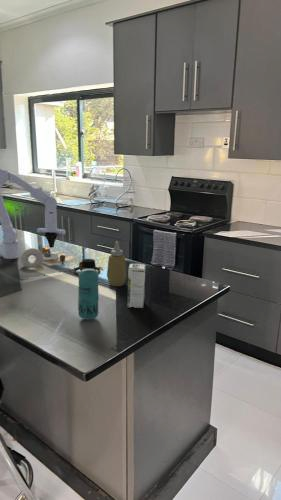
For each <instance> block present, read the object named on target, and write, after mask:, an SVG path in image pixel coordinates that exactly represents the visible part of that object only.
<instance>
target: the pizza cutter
mask: <svg viewBox="0 0 281 500" xmlns="http://www.w3.org/2000/svg"><path fill="white" fill-rule="evenodd" d="M44 248H45V252H44V254H42V255H43V261H52V260H56V259H58V255H57V254H51V253H52V252H51V248H50V247H49V245H48V246H44Z"/></svg>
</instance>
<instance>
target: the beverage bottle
mask: <svg viewBox="0 0 281 500" xmlns="http://www.w3.org/2000/svg"><path fill="white" fill-rule="evenodd" d="M81 262H82V267H83V268H94V267H96V259H92V258H84V259H82V261H81ZM78 273H79V274H78V289H77V290H78V301H77V303H78V304H77V305H78V307H77V311H78V317H79V318H81V319H84V320H93V319H95V318H97V317H98V316H99V310H100V309H99V297H100V296H99V293H100V291H99V274H100V273H98V271H97V270H95V269H83V270H80V271H79V272H78Z"/></svg>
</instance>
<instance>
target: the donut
mask: <svg viewBox="0 0 281 500" xmlns="http://www.w3.org/2000/svg"><path fill="white" fill-rule="evenodd" d="M30 256H35V257H36V260H35V259H34V261H30V260H29V258H30ZM42 262H43V255H42V251H40V250H39V249H37V248H35V247H34V248H33V247H30V248H26V249H25V250H24V251H23V252H22V253H21V255H20V264H21V265H22V267H24V268H26V269H27V268H29V269H30V268H39V267H40V266H42V265H43V263H42Z"/></svg>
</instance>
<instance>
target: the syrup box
mask: <svg viewBox="0 0 281 500" xmlns="http://www.w3.org/2000/svg"><path fill="white" fill-rule="evenodd" d="M127 272H128V273H127V274H128V275H127V278H128V279H127V281H128V282H127V297H126V298H127V299H126V301H127V303H126V305H127V306H126V307H127V308H131V307H134V308H137V309H138V308H139V309H143V308H144V304H145V303H144V302H145V286H146V285H145V284H146V283H145V281H146V264H143V263H130V264H129V266H128V271H127Z"/></svg>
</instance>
